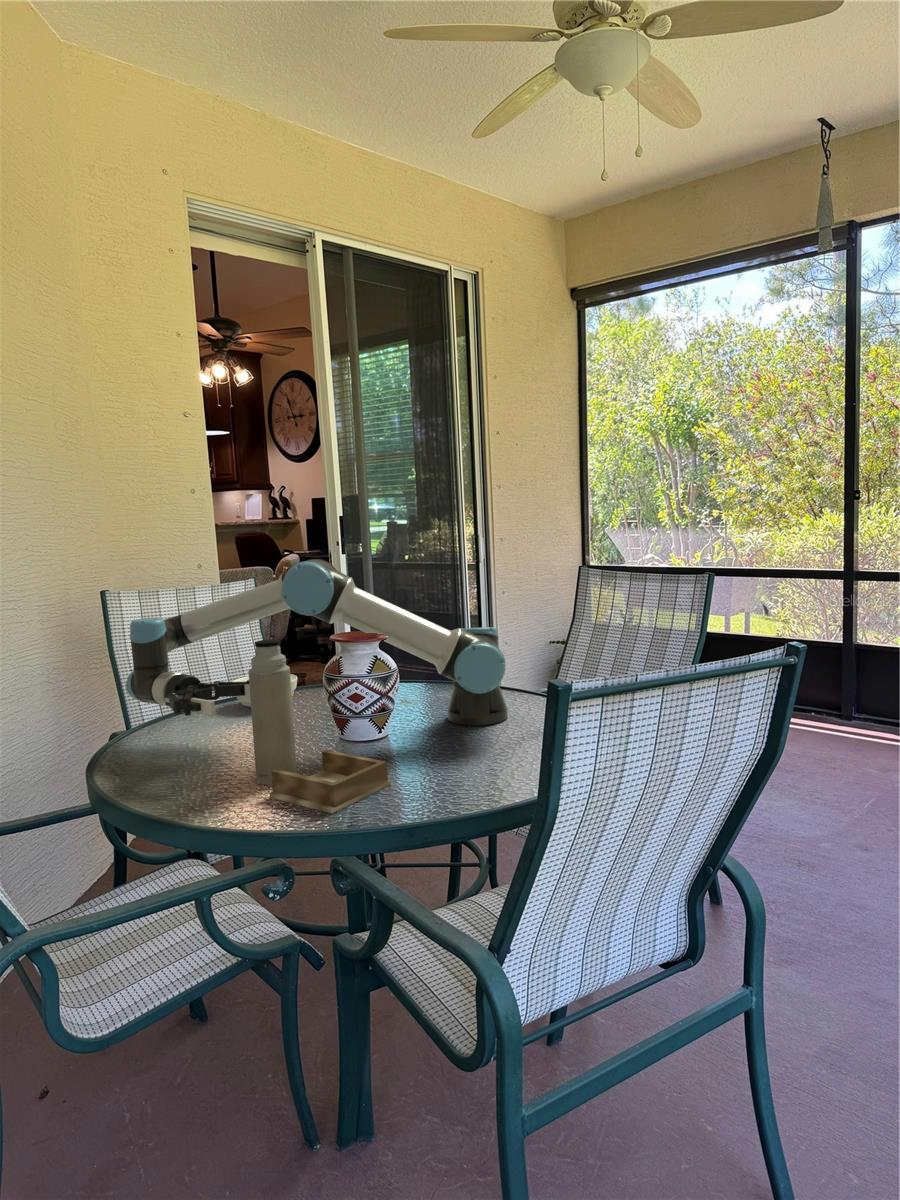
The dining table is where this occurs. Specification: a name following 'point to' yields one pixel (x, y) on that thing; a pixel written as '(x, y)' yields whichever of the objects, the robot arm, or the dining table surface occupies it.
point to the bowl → (246, 700)
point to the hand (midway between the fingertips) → (240, 700)
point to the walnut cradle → (332, 782)
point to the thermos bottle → (271, 711)
